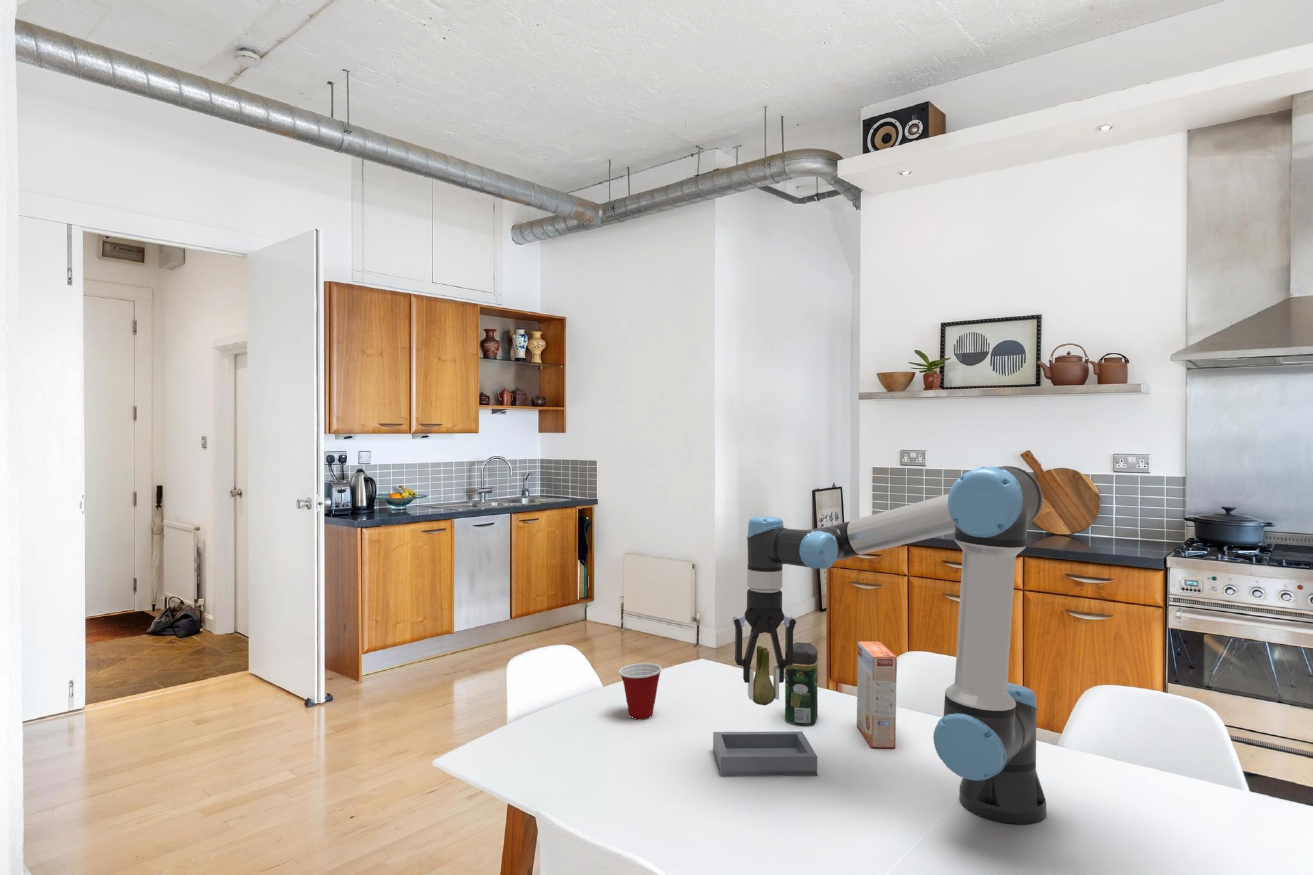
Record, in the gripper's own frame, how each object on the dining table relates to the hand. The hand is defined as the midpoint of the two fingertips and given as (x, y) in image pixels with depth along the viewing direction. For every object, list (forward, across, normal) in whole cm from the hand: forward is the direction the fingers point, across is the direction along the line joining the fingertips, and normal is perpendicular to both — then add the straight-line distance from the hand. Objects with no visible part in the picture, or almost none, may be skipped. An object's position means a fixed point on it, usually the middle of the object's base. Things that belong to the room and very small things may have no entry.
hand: (763, 697), depth 169 cm
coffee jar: (+14, -14, -26) cm, 33 cm away
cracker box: (+14, -29, -14) cm, 35 cm away
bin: (+14, 0, 0) cm, 14 cm away
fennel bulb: (+1, 0, 0) cm, 1 cm away
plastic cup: (+14, +26, -29) cm, 41 cm away
